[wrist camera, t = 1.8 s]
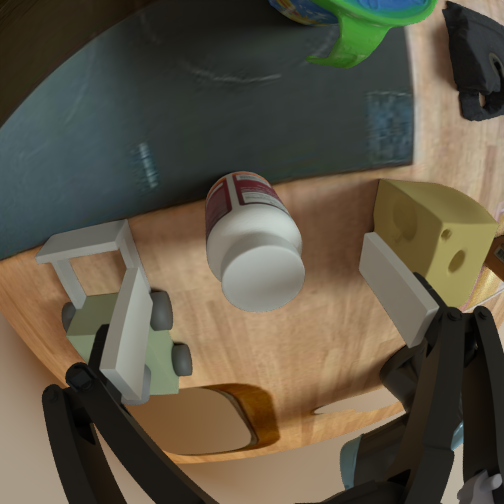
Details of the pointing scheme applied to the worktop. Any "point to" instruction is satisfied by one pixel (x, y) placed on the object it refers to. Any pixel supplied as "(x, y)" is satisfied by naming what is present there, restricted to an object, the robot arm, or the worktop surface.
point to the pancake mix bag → (496, 257)
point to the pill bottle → (252, 243)
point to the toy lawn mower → (102, 306)
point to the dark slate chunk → (476, 60)
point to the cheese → (435, 234)
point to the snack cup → (354, 23)
